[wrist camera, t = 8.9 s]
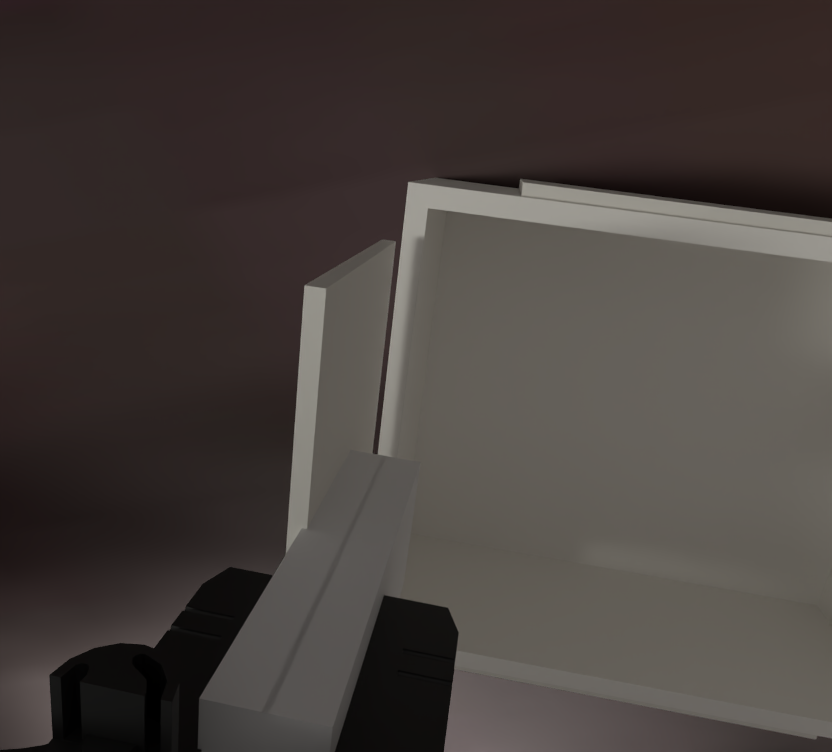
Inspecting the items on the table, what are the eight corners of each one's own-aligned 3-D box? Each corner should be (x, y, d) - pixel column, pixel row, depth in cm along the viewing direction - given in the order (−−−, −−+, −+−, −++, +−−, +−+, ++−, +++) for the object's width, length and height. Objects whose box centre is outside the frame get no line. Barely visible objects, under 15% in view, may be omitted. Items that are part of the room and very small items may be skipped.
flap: (353, 622, 18) (342, 620, 18) (395, 241, 15) (382, 239, 15) (282, 835, 12) (266, 831, 12) (326, 288, 9) (304, 284, 9)
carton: (390, 542, 25) (355, 655, 19) (437, 167, 21) (410, 167, 15) (819, 618, 23) (919, 765, 18) (958, 234, 19) (1147, 263, 14)
